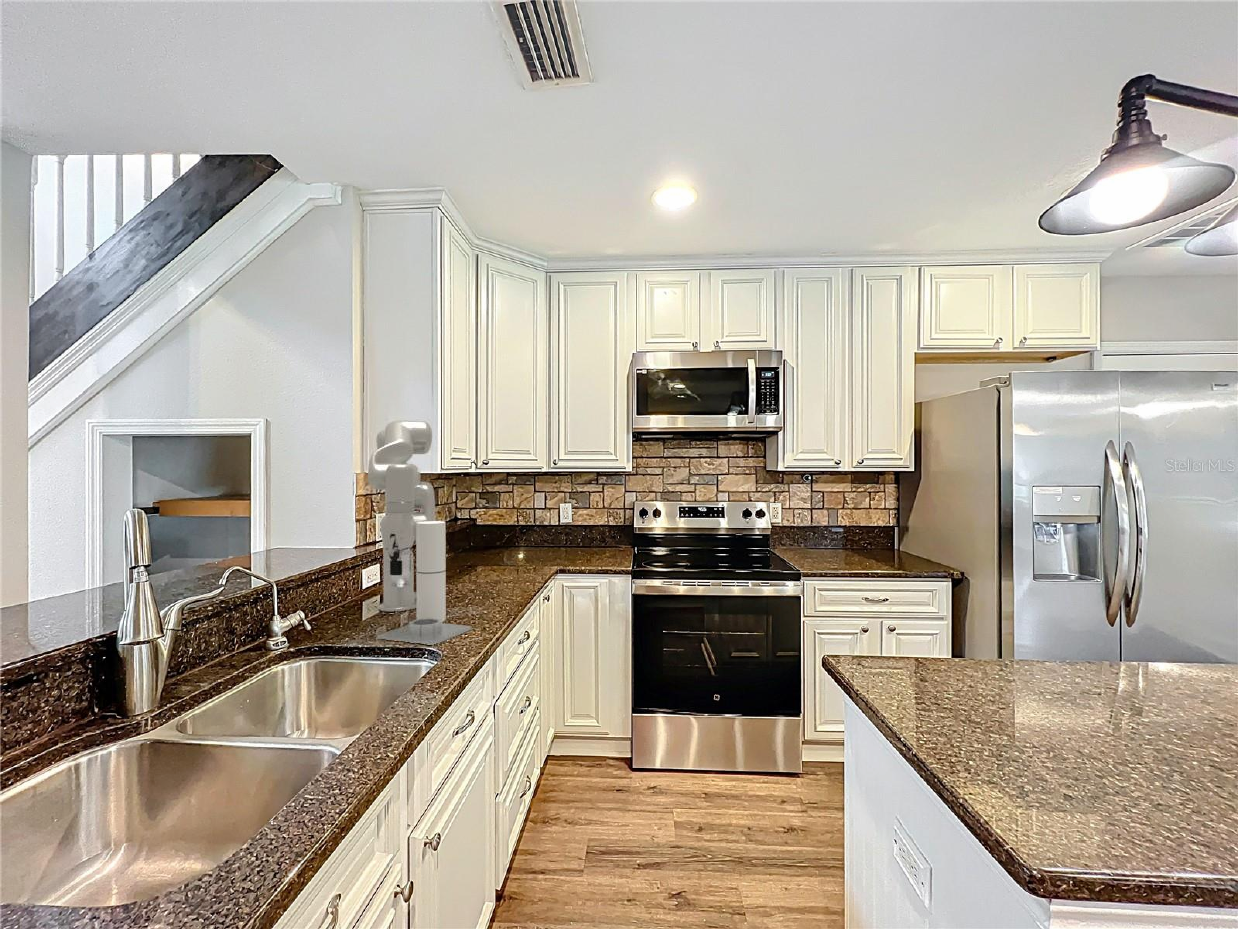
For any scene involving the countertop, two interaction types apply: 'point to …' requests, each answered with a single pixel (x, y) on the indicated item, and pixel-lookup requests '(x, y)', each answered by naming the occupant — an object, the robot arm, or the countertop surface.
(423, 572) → the container
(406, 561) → the grey cylinder
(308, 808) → the countertop surface
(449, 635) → the flange
